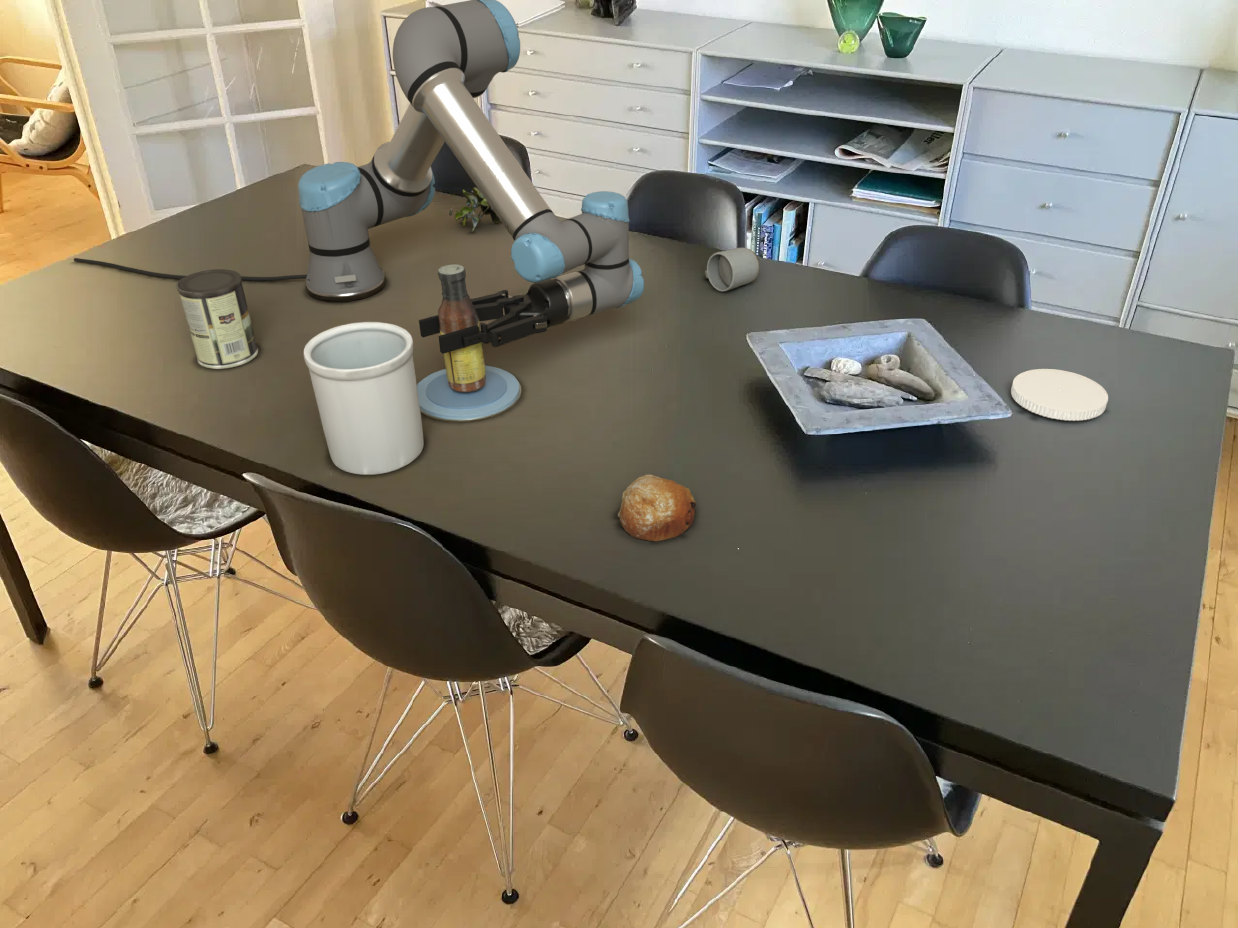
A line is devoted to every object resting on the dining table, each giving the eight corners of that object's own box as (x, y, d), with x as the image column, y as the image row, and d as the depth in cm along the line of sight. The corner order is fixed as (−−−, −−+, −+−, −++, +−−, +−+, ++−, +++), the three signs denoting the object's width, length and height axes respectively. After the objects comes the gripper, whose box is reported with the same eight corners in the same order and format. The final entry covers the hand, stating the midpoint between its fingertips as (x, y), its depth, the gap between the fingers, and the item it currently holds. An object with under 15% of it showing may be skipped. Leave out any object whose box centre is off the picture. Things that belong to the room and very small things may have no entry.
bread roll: (629, 520, 137) (603, 478, 133) (696, 490, 136) (672, 447, 131) (636, 565, 129) (609, 522, 125) (707, 534, 127) (682, 489, 123)
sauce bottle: (494, 381, 160) (484, 266, 149) (469, 398, 156) (457, 280, 145) (463, 371, 163) (451, 257, 152) (438, 387, 159) (423, 271, 148)
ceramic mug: (761, 285, 196) (763, 248, 192) (732, 296, 192) (733, 259, 188) (723, 271, 203) (724, 235, 199) (694, 281, 199) (695, 244, 195)
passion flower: (496, 246, 231) (523, 207, 224) (468, 252, 222) (495, 212, 216) (465, 212, 232) (490, 172, 226) (436, 217, 223) (461, 176, 217)
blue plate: (390, 409, 157) (389, 402, 156) (449, 361, 170) (448, 355, 170) (487, 431, 151) (487, 424, 150) (540, 380, 164) (539, 373, 164)
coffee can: (226, 338, 179) (208, 265, 171) (271, 349, 175) (254, 274, 167) (183, 362, 171) (162, 286, 163) (229, 374, 167) (209, 296, 160)
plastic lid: (1059, 435, 149) (1063, 420, 147) (990, 394, 159) (993, 381, 158) (1123, 412, 154) (1128, 398, 152) (1053, 375, 164) (1056, 361, 163)
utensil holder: (378, 489, 138) (359, 379, 128) (303, 459, 145) (280, 352, 135) (447, 441, 148) (434, 336, 139) (374, 416, 155) (357, 313, 145)
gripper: (591, 342, 158) (461, 382, 147) (530, 302, 171) (407, 336, 160) (589, 298, 154) (456, 336, 143) (527, 261, 167) (401, 293, 156)
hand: (430, 336), depth 152 cm, fingers closed on sauce bottle, 6 cm apart
